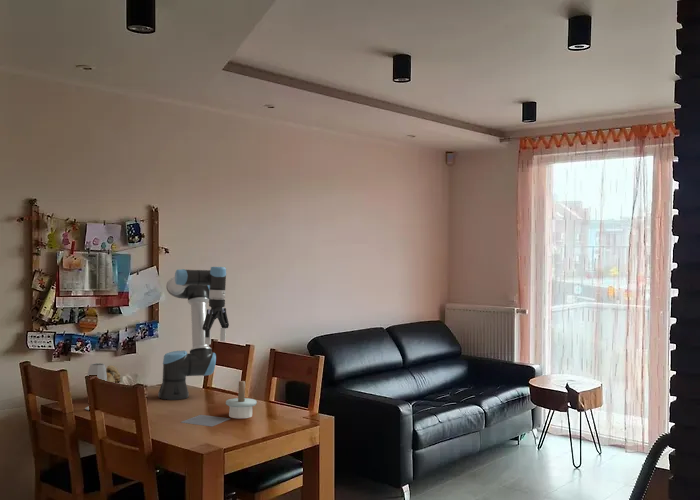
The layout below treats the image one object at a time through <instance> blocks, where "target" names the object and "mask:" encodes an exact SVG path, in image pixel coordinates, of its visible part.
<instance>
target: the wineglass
mask: <svg viewBox="0 0 700 500" xmlns="http://www.w3.org/2000/svg"><path fill="white" fill-rule="evenodd" d="M106 368H107V367H106V364H105V363H102V362H100V363H97V362H95V363H90V364H89V367H88V371H87V375H86V377H87V376H89V375H97V377H98V378H99V379H102V380H105V381H107V373H106ZM89 406H90V405H88V406H86V407H84V409H85V410H86V411H89Z"/></svg>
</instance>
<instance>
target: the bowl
mask: <svg viewBox="0 0 700 500" xmlns="http://www.w3.org/2000/svg"><path fill="white" fill-rule="evenodd" d="M228 407H229V413H228V416H229V417H230V418H232V419H249V418H252V417H253V407H254V406H251V407H231V406H228Z"/></svg>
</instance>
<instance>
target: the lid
mask: <svg viewBox="0 0 700 500" xmlns="http://www.w3.org/2000/svg"><path fill="white" fill-rule="evenodd" d="M237 391H238V392H237V393H238V394H237V396H238V397H235V398H228V399H227V400H225V405H226V406H228V407H229V406H231V407H251V406H253V407H255V406H256V405H257V400H256V399H254V398H247V397H246V381H245V380H239V381H238V390H237Z"/></svg>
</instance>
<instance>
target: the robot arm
mask: <svg viewBox="0 0 700 500" xmlns="http://www.w3.org/2000/svg"><path fill="white" fill-rule="evenodd" d="M226 278H227V269H226V267H225V266H210V269H183V268H182V269H176V270H175V273H174V277H171V278H170V279H168V281H167V283H166V290H167V292H168V294H169V295H171V296H172V297H174V298H176V299H185V300H186V299H187V303H188V304H189V305H190V311H191V313H190V315H191V340H192V344H191V345H192V347H191V349H190V350H189V353H188V351H186V350H174V351H169V352H166V353H165V354H164V355H163V358H162V359H163V361H162V382H161V385H160V388H159V391H158V394H157V396H158V399H160V398H161V400H166V399H167V400H166V401H168V400H170V401H172V400H173V401H174V400H175V401H176V400H186V399H188V398H189V394H190V393H189V389H188V385H187V382H186V381H187V380H186V379H187V377H201V376H202V377H205V376H211V375H212V374H213V373H214V372H215V368H216V364H217V363H216V362H217V354H216V353H215V352H213V348H212V347H210V345H211V343H212V330H211V328H212V327H213V325H214V323H215V320H218V322H219V324H220V325H219V326H220V329H219V331H220V334H219V342H226V341H227V340H226V339H227V335H226V334H227V329H228V328H229V326H230V325H229V320H228V315H227V308H226V300H225V298H226V286H227V285H226V281H227V279H226ZM208 307H210V308H208Z"/></svg>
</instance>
